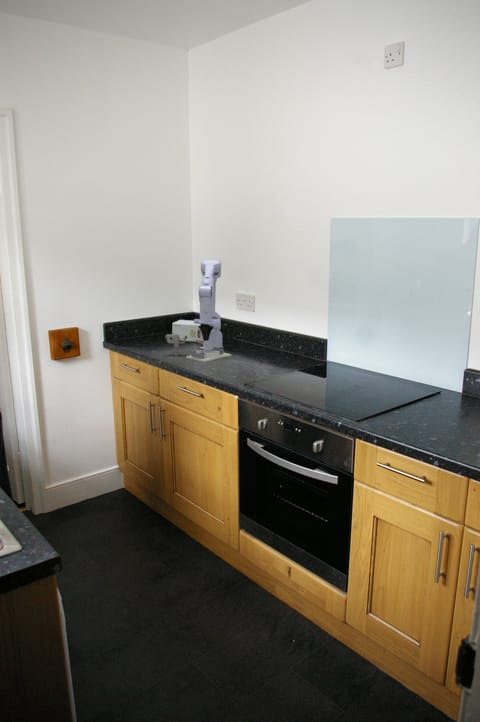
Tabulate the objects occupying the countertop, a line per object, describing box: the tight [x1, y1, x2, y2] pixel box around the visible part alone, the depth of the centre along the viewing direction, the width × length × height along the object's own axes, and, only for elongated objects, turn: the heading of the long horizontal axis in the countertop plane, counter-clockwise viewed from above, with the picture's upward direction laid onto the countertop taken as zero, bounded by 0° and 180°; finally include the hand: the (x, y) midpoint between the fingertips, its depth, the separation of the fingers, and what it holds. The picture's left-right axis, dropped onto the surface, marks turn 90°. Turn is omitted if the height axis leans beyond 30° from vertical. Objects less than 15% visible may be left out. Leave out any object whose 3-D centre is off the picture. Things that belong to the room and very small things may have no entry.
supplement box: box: [171, 319, 203, 342], centre depth 318 cm, size 17×13×9 cm
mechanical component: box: [164, 333, 187, 357], centre depth 276 cm, size 3×10×10 cm, turn 89°
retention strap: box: [194, 340, 223, 349], centre depth 274 cm, size 14×4×1 cm, turn 138°
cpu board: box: [186, 348, 232, 363], centre depth 275 cm, size 18×12×4 cm, turn 138°
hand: (206, 340), depth 272 cm, fingers closed
